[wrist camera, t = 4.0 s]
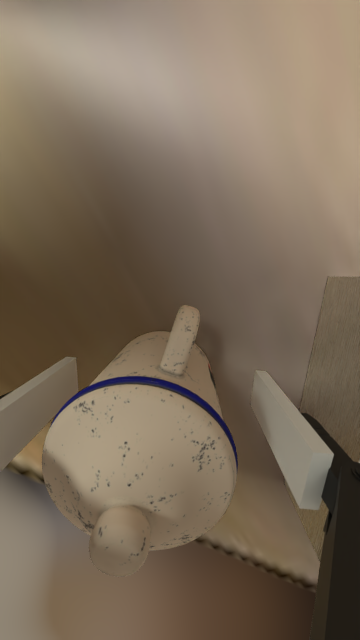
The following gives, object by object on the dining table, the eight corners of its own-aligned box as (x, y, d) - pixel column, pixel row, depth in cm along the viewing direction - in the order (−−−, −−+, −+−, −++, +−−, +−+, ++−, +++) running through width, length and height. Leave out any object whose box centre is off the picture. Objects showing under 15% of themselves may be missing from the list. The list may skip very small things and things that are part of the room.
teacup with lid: (194, 432, 19) (202, 675, 7) (103, 402, 18) (-37, 606, 7) (243, 315, 16) (376, 409, 5) (137, 279, 16) (3, 285, 4)
